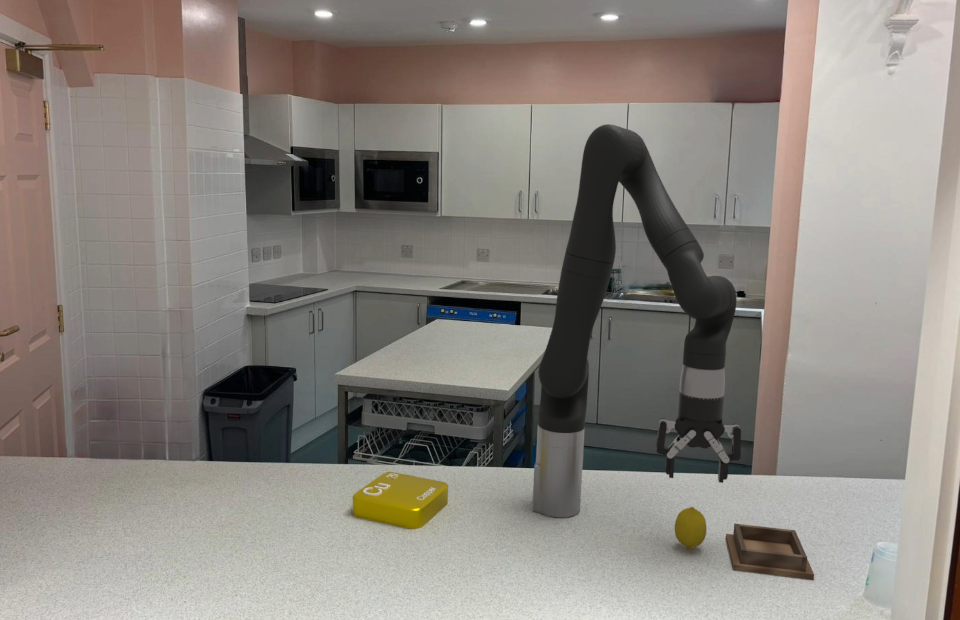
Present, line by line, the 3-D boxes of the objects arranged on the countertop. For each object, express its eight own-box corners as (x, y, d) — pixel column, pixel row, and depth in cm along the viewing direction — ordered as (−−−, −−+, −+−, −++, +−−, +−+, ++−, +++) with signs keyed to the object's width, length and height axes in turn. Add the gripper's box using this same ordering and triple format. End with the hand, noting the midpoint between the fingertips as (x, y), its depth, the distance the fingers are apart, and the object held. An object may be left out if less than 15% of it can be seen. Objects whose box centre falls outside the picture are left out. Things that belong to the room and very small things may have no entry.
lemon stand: (733, 570, 132) (734, 551, 131) (725, 538, 144) (727, 521, 143) (813, 580, 130) (815, 560, 129) (799, 547, 141) (801, 529, 141)
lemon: (705, 558, 136) (709, 515, 135) (673, 554, 137) (677, 511, 136) (703, 543, 141) (706, 502, 140) (672, 540, 142) (675, 499, 141)
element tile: (418, 533, 143) (418, 508, 142) (348, 517, 149) (348, 494, 148) (451, 502, 157) (451, 480, 156) (386, 489, 162) (386, 467, 162)
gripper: (660, 393, 132) (655, 483, 135) (747, 399, 129) (740, 490, 132) (659, 382, 139) (654, 467, 142) (741, 387, 137) (734, 474, 139)
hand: (695, 478), depth 137 cm, fingers open, 8 cm apart
